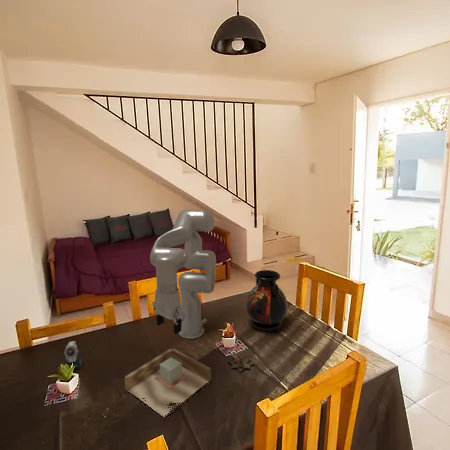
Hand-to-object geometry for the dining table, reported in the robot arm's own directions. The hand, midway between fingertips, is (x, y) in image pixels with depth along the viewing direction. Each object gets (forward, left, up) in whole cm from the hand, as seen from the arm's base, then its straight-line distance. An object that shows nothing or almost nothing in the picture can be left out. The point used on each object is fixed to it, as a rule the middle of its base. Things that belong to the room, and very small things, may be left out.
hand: (168, 328), depth 126 cm
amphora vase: (-60, +8, -23) cm, 64 cm away
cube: (0, +1, -21) cm, 21 cm away
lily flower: (-25, +17, -23) cm, 38 cm away
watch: (+20, -37, -23) cm, 48 cm away
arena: (+3, +3, -22) cm, 23 cm away
